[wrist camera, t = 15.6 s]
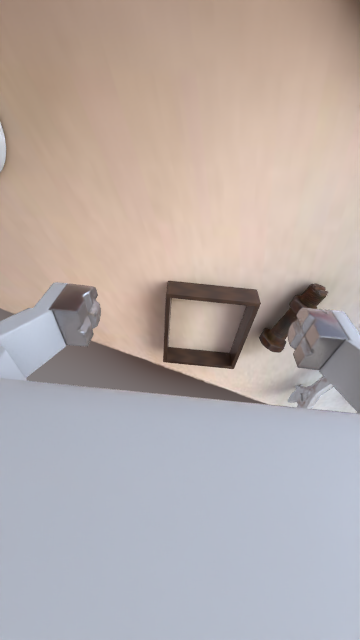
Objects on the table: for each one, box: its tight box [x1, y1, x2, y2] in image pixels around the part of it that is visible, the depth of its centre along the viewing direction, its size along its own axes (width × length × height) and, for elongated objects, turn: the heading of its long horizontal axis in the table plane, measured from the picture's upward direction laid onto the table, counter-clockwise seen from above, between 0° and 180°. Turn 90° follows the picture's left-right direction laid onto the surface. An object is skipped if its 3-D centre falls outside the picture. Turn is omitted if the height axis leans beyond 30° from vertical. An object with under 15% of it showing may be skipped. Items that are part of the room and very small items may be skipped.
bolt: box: [259, 284, 328, 352], centre depth 45 cm, size 6×5×15 cm
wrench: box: [288, 376, 334, 409], centre depth 57 cm, size 8×2×30 cm
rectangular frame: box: [163, 281, 261, 369], centre depth 49 cm, size 17×20×4 cm
